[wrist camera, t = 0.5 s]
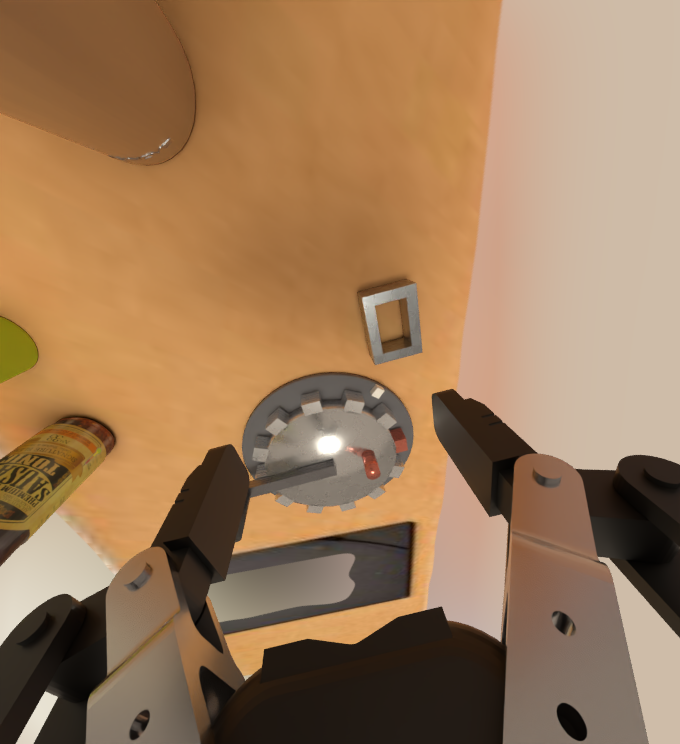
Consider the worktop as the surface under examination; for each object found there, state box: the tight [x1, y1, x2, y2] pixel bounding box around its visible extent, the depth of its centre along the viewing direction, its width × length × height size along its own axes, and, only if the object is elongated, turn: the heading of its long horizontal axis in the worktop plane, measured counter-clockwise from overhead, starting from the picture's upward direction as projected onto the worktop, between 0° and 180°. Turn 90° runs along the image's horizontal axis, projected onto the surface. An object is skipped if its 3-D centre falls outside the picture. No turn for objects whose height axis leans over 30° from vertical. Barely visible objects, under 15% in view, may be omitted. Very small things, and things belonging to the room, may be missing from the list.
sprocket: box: [235, 390, 408, 542], centre depth 30 cm, size 19×21×8 cm
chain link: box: [357, 279, 422, 365], centre depth 26 cm, size 7×5×2 cm
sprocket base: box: [242, 372, 413, 504], centre depth 34 cm, size 22×22×2 cm
